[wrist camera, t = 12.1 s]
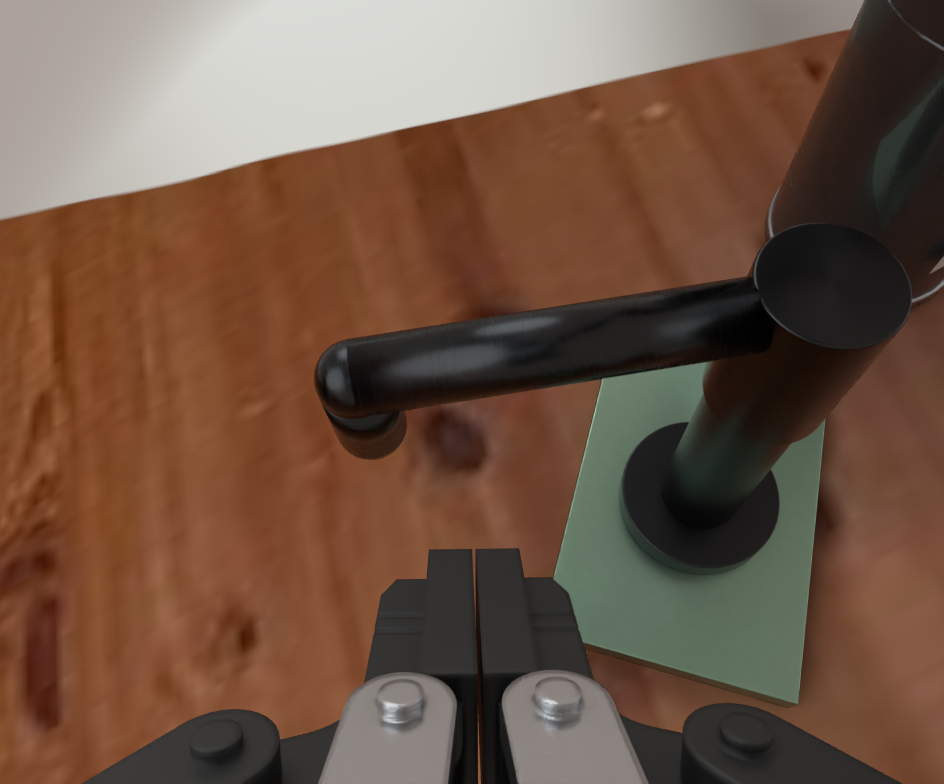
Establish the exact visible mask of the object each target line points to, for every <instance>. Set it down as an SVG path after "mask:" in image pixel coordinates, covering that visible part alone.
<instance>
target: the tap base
mask: <svg viewBox="0 0 944 784" xmlns="http://www.w3.org/2000/svg"><path fill="white" fill-rule="evenodd" d="M706 364H707V362H705V363H698V364H692V365H686V366H680V367H673V368H667V369H661V370H655V371H648V372H642V373H636V374H630V375H624V376H617V377H611V378H605V379H602V381H601V385H600V389H599V393H598V398H597V402H596V406H595V410H594V414H593V418H592V422H591V426H590V430H589V434H588V438H587V442H586V446H585V450H584V454H583V458H582V462H581V466H580V470H579V474H578V479H577V483H576V487H575V491H574V495H573V499H572V503H571V507H570V511H569V515H568V519H567V523H566V527H565V531H564V535H563V539H562V543H561V547H560V551H559V555H558V560H557V564H556V568H555V572H554V576H553V579H554V580H555V581H556V582H557V583H558V584H559V585H561V586H562V587H563V588H564V589H565V590H566V591H567V592H568V593H569V595H570V599H571V602H572V606H573V609H574V615H575V616H576V620H577V623H578V630H580V634H581V637H582V641H583V644H584V648H585V649H588V650H592V651H595V652H598V653H602V654H605V655H609V656H612V657H615V658H619V659H622V660H626V661H629V662H633V663H636V664H639V665H643V666H646V667H650V668H653V669H657V670H660V671H663V672H667V673H670V674H674V675H677V676H680V677H684V678H687V679H691V680H694V681H698V682H701V683H704V684H708V685H711V686H715V687H718V688H721V689H725V690H728V691H732V692H735V693H739V694H742V695H745V696H749V697H752V698H756V699H759V700H763V701H766V702H769V703H773V704H776V705H780V706H783V707H786V708H789V707H792V706H795V705H798V701H799V691H800V680H801V670H802V659H803V649H804V639H805V628H806V618H807V607H808V597H809V586H810V576H811V565H812V555H813V544H814V534H815V524H816V513H817V503H818V492H819V482H820V471H821V461H822V450H823V440H824V429H825V420H824V421H823V422H822V423H821V424H820V426H819V427H818V428H817V429H816V430H815V431H814V432H813V433H811V434H810V435H809V436H807V437H805V438H804V439H802V440H799V441H797V442H794V443H790V444H785V445H764V444H758V443H754V442H751V441H748V440H746V439H743V438H741V437H739V436H737V435H735V434H734V433H732V432H731V431H729V430H728V429H727V428H725V427H724V426H723V425H722V424H721V423H720V422H719V421H718V420H717V419H716V417H715V416H714V415H713V413H712V412H711V410H710V408H709V407H708V405H707V402H706V400H705V397H704V393H703V386H702V381H703V373H704V369H705V367H706ZM825 419H826V418H825Z"/></svg>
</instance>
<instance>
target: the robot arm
mask: <svg viewBox="0 0 944 784" xmlns="http://www.w3.org/2000/svg"><path fill="white" fill-rule="evenodd" d="M808 223H830V224H837V225H842V226H846V227H849V228H852V229H855V230H858V231H860V232H863V233H865V234H867V235H868V236H870V237H872V238H874V239H875V240H877V241H878V242H880V243H881V244H882V245H884V246H885V247H886V248H887V249H889V250H890V251H891V252H892V253H893V254H894V255H895V257H896V258H897V259H898V260H899V262H900V263H901V264H902V266H903V268H904V269H905V271H906V273H907V275H908V278H909V281H910V284H911V289H912V306H911V307H914V306H916V305H919V304H921V303H923V302H925V301H926V300H928V299H929V298H931V297H932V296H933V295H935V294H936V293H937V292H938V291H939V290H940V289H941V288H942V287H943V285H944V0H864V2H863V4H862V7H861V9H860V11H859V14H858V15H857V18H856V20H855V22H854V25H853V27H852V29H851V31H850V33H849V36H848V38H847V40H846V42H845V44H844V47H843V49H842V51H841V53H840V56H839V58H838V60H837V62H836V65H835V67H834V69H833V71H832V73H831V76H830V78H829V80H828V82H827V85H826V87H825V89H824V91H823V94H822V96H821V98H820V100H819V102H818V105H817V107H816V109H815V111H814V114H813V116H812V118H811V120H810V123H809V125H808V127H807V129H806V131H805V134H804V136H803V138H802V140H801V143H800V145H799V147H798V149H797V151H796V153H795V155H794V158H793V160H792V162H791V164H790V167H789V169H788V171H787V173H786V176H785V178H784V180H783V182H782V185H781V186H780V188H779V189H778V190H777V192H776V194H775V196H774V197H773V200H772V202H771V204H770V206H769V209H768V212H767V215H766V220H765V235H766V240H767V241H768V240H769V239H770V238H772V237H773V236H775V235H776V234H778V233H779V232H781V231H783V230H785V229H787V228H790V227H793V226H797V225H801V224H808ZM478 723H479V746H480V770H481V784H902V783H900V782H898V781H896V780H894V779H893V778H891V777H889V776H887V775H885V774H883V773H881V772H880V771H878V770H876V769H874V768H872V767H870V766H868V765H867V764H865V763H863V762H861V761H859V760H857V759H855V758H854V757H852V756H850V755H848V754H846V753H844V752H842V751H841V750H839V749H837V748H835V747H833V746H831V745H829V744H828V743H826V742H824V741H822V740H820V739H818V738H816V737H815V736H813V735H811V734H809V733H807V732H805V731H803V730H802V729H800V728H798V727H796V726H794V725H792V724H790V723H789V722H787V721H785V720H783V719H781V718H779V717H777V716H775V715H773V714H771V713H769V712H767V711H764V710H761V709H759V708H755V707H751V706H747V705H741V704H733V703H720V704H712V705H707V706H704V707H701V708H699V709H697V710H696V711H694V712H693V713H691V714H690V715H689V716H688V718H687V719H686V721H685V723H684V726H683V733H680V732H675V731H670V730H665V729H660V728H655V727H651V726H647V725H643V724H641V723H638V722H635V721H632V720H630V719H628V718H626V717H624V716H622V715H621V714H619V713H618V711H617V709H616V707H615V704H614V702H613V700H612V698H611V696H610V694H609V693H608V692H607V691H606V689H605V688H604V687H602V686H601V685H600V684H599V683H597V682H596V681H594V679H593V676H592V672H591V669H590V665H589V662H588V658H587V655H586V651H585V648H584V644H583V641H582V637H581V634H580V630H578V623H577V620H576V616H575V615H574V609H573V606H572V602H571V599H570V595H569V593H568V592H567V591H566V590H565V589H564V588H563V587H562V586H561V585H559V584H558V583H557V582H556V581H555V580H554V579H553V578H552V577H545V578H524V573H523V568H522V562H521V557H520V551H519V548H516V549H476V628H475V605H474V583H473V560H472V549H444V550H429V555H428V567H427V579H400V580H396V581H395V582H394V583H393V584H392V585H391V586H390V587H389V588H388V589H387V590H386V591H385V592H384V593H383V594H382V595H381V598H380V603H379V609H378V614H377V619H376V624H375V633H374V635H373V640H372V645H371V651H370V656H369V661H368V666H367V671H366V677H365V682H364V683H363V684H362V685H360V686H359V687H357V688H356V689H355V690H354V691H353V692H352V693H351V695H350V696H349V697H348V699H347V701H346V703H345V706H344V709H343V712H342V715H341V718H340V720H338V721H337V722H335V723H333V724H331V725H329V726H327V727H325V728H322V729H320V730H317V731H313V732H310V733H306V734H302V735H298V736H294V737H290V738H286V739H281V740H280V738H279V731H278V729H277V727H276V725H275V724H274V723H273V722H272V721H271V720H270V719H269V718H267V717H266V716H264V715H262V714H260V713H257V712H253V711H249V710H239V709H231V710H221V711H216V712H211V713H208V714H204V715H201V716H198V717H196V718H193V719H191V720H189V721H187V722H185V723H183V724H182V725H180V726H178V727H177V728H175V729H173V730H171V731H170V732H168V733H166V734H165V735H163V736H161V737H160V738H158V739H156V740H155V741H153V742H151V743H150V744H148V745H146V746H144V747H143V748H141V749H139V750H138V751H136V752H134V753H133V754H131V755H129V756H128V757H126V758H124V759H122V760H121V761H119V762H117V763H116V764H114V765H112V766H111V767H109V768H107V769H106V770H104V771H102V772H101V773H99V774H97V775H95V776H94V777H92V778H90V779H89V780H87V781H85V782H84V783H82V784H478Z"/></svg>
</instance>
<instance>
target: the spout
mask: <svg viewBox="0 0 944 784" xmlns="http://www.w3.org/2000/svg"><path fill="white" fill-rule="evenodd" d="M911 306H912V289H911V284H910V281H909V278H908V275H907V273H906V271H905V269H904V268H903V266H902V264H901V263H900V262H899V260H898V259H897V258H896V257H895V255H894V254H893V253H892V252H891V251H890V250H889V249H887V248H886V247H885V246H884V245H882V244H881V243H880V242H878V241H877V240H875V239H874V238H872V237H870V236H868V235H867V234H865V233H863V232H860V231H858V230H855V229H852V228H849V227H846V226H842V225H837V224H830V223H808V224H801V225H797V226H793V227H790V228H787V229H785V230H783V231H781V232H779V233H778V234H776V235H775V236H773V237H772V238H770V239H769V240H768V241H767V242H766V243H765V244H764V245H763V246H762V248H761V249H760V250H759V252H758V254H757V256H756V258H755V260H754V262H753V264H752V266H751V269H750V271H749V273H748V275H747V277H741V278H735V279H728V280H722V281H715V282H709V283H703V284H696V285H690V286H683V287H677V288H671V289H664V290H658V291H652V292H645V293H639V294H632V295H626V296H620V297H613V298H607V299H600V300H594V301H588V302H581V303H575V304H568V305H562V306H556V307H549V308H543V309H537V310H530V311H524V312H517V313H511V314H505V315H498V316H492V317H485V318H479V319H473V320H466V321H460V322H453V323H447V324H441V325H434V326H428V327H422V328H415V329H409V330H402V331H396V332H390V333H383V334H377V335H370V336H364V337H358V338H351V339H346V340H342V341H339V342H337V343H335V344H333V345H332V346H330V347H329V348H328V349H327V350H326V351H325V352H324V353H323V354H322V355H321V357H320V358H319V360H318V362H317V365H316V368H315V372H314V385H315V389H316V392H317V394H318V397H319V399H320V401H321V403H322V405H323V407H324V410H325V412H326V414H327V416H328V418H329V420H330V422H331V425H332V427H333V429H334V431H335V433H336V435H337V437H338V439H339V441H340V443H341V444H342V446H343V447H344V448H345V449H346V450H347V451H348V452H349V453H350V454H352V455H354V456H356V457H358V458H361V459H366V460H377V459H381V458H384V457H386V456H388V455H390V454H391V453H393V452H394V451H395V450H396V449H397V448H398V447H399V446H400V444H401V443H402V441H403V439H404V436H405V434H406V428H407V422H406V415H405V411H406V410H412V409H418V408H424V407H431V406H437V405H443V404H449V403H455V402H462V401H468V400H474V399H480V398H487V397H493V396H499V395H505V394H512V393H518V392H524V391H530V390H536V389H543V388H549V387H555V386H561V385H568V384H574V383H580V382H586V381H592V380H599V379H605V378H611V377H617V376H624V375H630V374H636V373H642V372H648V371H655V370H661V369H667V368H673V367H680V366H686V365H692V364H698V363H705V362H707V364H706V367H705V369H704V373H703V381H702V386H703V393H704V397H705V400H706V402H707V405H708V407H709V408H710V410H711V412H712V413H713V415H714V416H715V417H716V419H717V420H718V421H719V422H720V423H721V424H722V425H723V426H724V427H725V428H727V429H728V430H729V431H731V432H732V433H734V434H735V435H737V436H739V437H741V438H743V439H746V440H748V441H751V442H754V443H758V444H764V445H785V444H790V443H794V442H797V441H799V440H802V439H804V438H805V437H807V436H809V435H810V434H811V433H813V432H814V431H815V430H816V429H817V428H818V427H819V426H820V424H821V423H822V422H823V421H824V420H825V418H826V417H827V416H828V415H829V414H830V413H831V411H832V410H833V409H834V408H835V407H836V405H837V404H838V403H839V402H840V401H841V399H842V398H843V397H844V396H845V395H846V393H847V392H848V391H849V390H850V389H851V387H852V386H853V385H854V384H855V383H856V382H857V380H858V379H859V378H860V377H861V376H862V374H863V373H864V372H865V371H866V370H867V368H868V367H869V366H870V365H871V364H872V362H873V361H874V360H875V359H876V358H877V357H878V355H879V354H880V353H881V352H882V351H883V349H884V348H885V347H886V346H887V345H888V343H889V342H890V341H891V340H892V339H893V337H894V336H895V335H896V334H897V333H898V331H899V330H900V329H901V328H902V327H903V325H904V324H905V322H906V321H907V318H908V316H909V314H910V310H911Z"/></svg>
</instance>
